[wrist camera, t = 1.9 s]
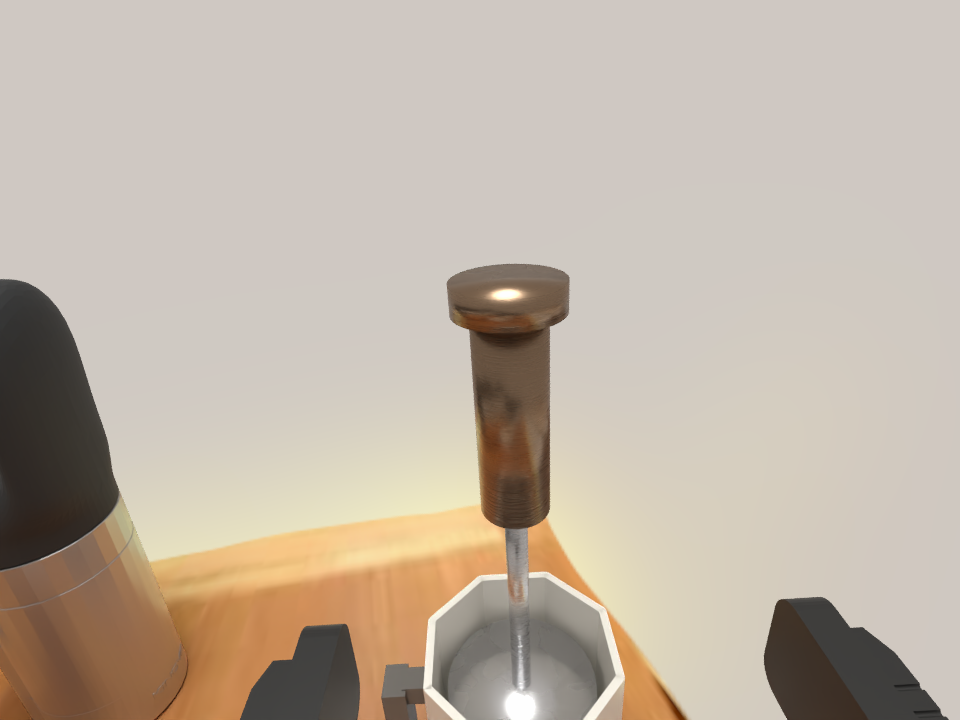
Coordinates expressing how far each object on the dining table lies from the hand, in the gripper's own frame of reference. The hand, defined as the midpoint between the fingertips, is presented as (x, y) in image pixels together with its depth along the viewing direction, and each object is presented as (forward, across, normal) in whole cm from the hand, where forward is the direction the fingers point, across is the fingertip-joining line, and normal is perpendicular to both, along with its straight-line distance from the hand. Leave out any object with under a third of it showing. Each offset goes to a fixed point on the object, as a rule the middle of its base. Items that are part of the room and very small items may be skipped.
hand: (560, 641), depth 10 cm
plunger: (+12, 0, +19) cm, 22 cm away
